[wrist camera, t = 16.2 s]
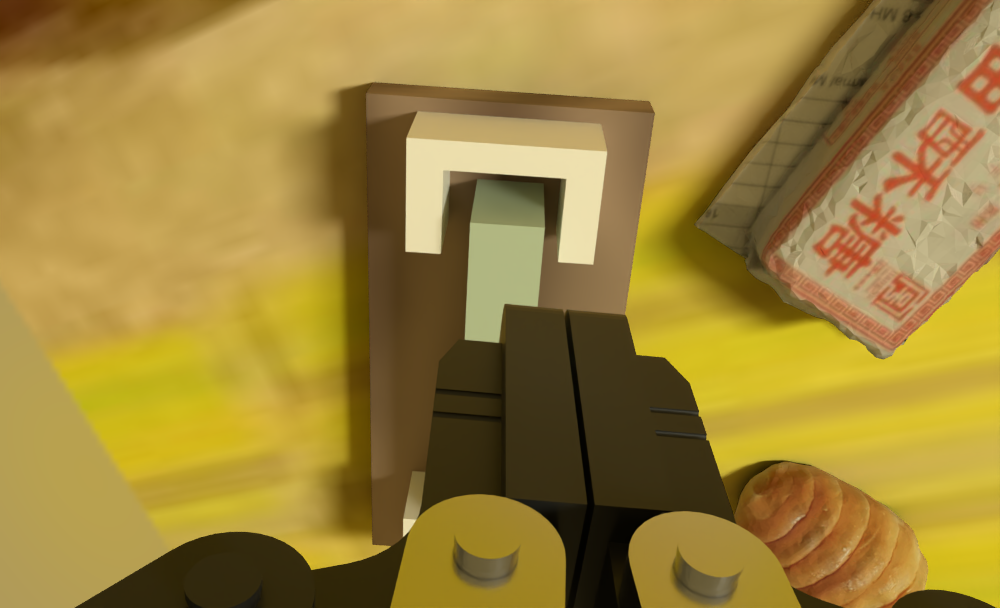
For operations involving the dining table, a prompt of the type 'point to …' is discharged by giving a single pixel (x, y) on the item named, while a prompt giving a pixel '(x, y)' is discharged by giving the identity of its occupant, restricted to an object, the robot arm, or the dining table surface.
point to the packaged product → (878, 173)
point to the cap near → (504, 172)
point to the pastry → (832, 537)
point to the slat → (503, 253)
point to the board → (443, 277)
